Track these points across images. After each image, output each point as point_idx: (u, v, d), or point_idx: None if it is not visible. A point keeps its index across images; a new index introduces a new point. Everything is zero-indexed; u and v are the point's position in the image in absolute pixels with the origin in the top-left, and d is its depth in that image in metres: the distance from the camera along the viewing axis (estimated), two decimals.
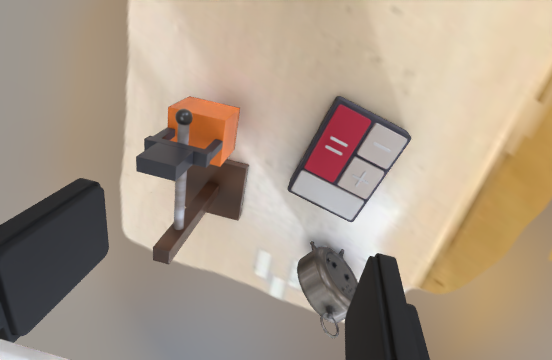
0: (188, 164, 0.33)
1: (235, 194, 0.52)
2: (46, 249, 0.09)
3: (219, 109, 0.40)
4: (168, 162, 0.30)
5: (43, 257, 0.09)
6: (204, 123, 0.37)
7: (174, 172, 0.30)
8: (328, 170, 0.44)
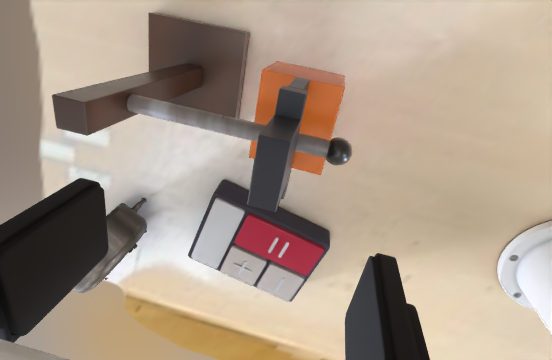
0: None
1: None
2: (46, 249, 0.09)
3: None
4: (280, 194, 0.17)
5: (43, 257, 0.09)
6: None
7: (263, 207, 0.17)
8: (248, 239, 0.38)
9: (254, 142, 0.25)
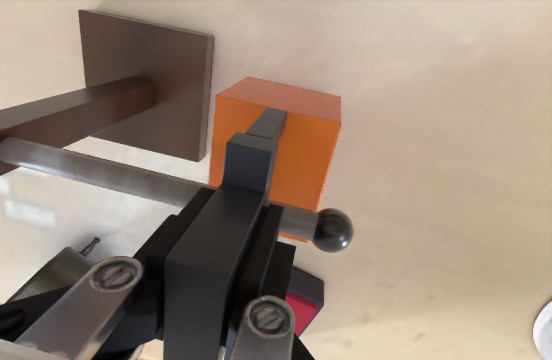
0: None
1: (142, 137, 0.27)
2: None
3: None
4: (222, 348, 0.09)
5: None
6: (301, 202, 0.17)
7: None
8: None
9: None
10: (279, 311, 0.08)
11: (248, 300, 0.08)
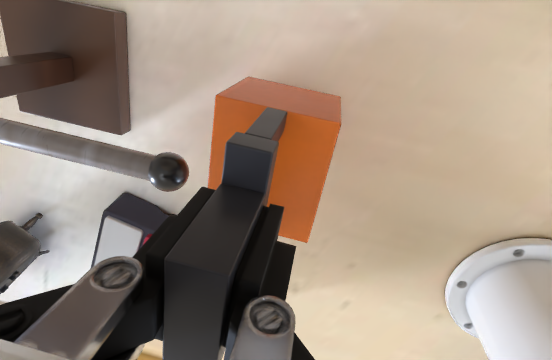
0: None
1: (67, 111, 0.29)
2: None
3: None
4: (221, 348, 0.09)
5: None
6: (300, 201, 0.17)
7: None
8: None
9: None
10: (279, 311, 0.08)
11: (248, 300, 0.08)
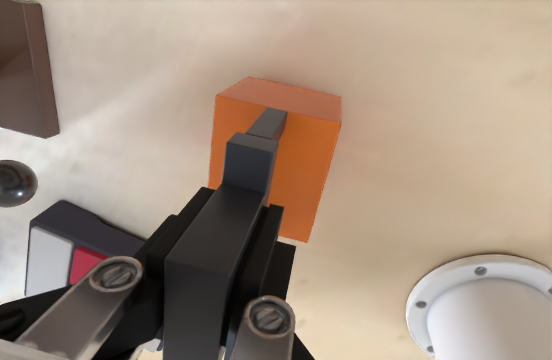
0: None
1: None
2: None
3: None
4: (221, 348, 0.09)
5: None
6: (301, 202, 0.17)
7: None
8: None
9: None
10: (279, 311, 0.08)
11: (248, 300, 0.08)
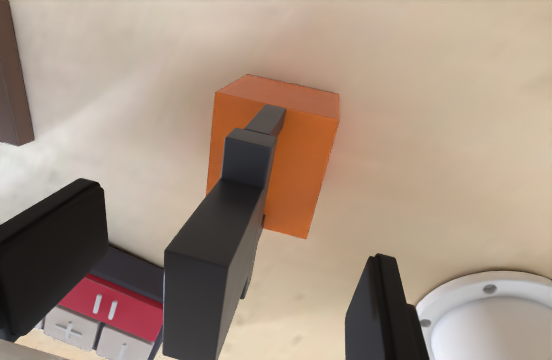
0: None
1: None
2: (46, 249, 0.09)
3: None
4: (220, 340, 0.09)
5: (43, 257, 0.09)
6: (299, 198, 0.17)
7: None
8: None
9: None
10: None
11: None
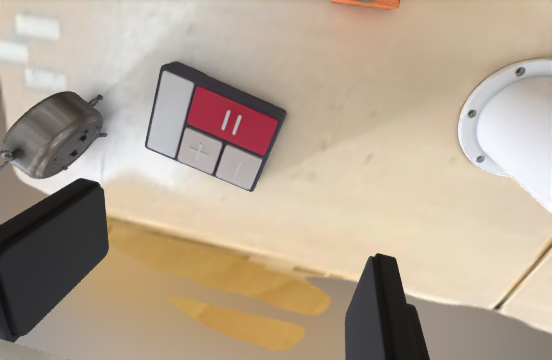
0: None
1: None
2: (46, 249, 0.09)
3: None
4: None
5: (43, 257, 0.09)
6: None
7: None
8: (200, 116, 0.37)
9: None
10: None
11: None
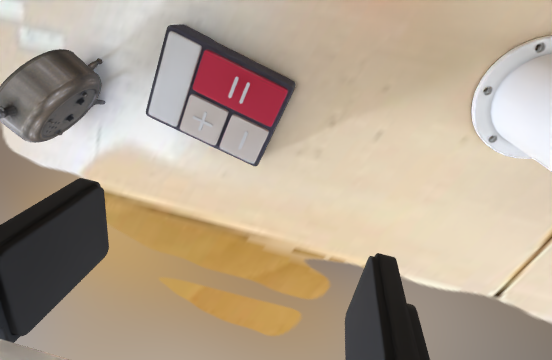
0: None
1: None
2: (46, 249, 0.09)
3: None
4: None
5: (43, 257, 0.09)
6: None
7: None
8: (206, 82, 0.35)
9: None
10: None
11: None
